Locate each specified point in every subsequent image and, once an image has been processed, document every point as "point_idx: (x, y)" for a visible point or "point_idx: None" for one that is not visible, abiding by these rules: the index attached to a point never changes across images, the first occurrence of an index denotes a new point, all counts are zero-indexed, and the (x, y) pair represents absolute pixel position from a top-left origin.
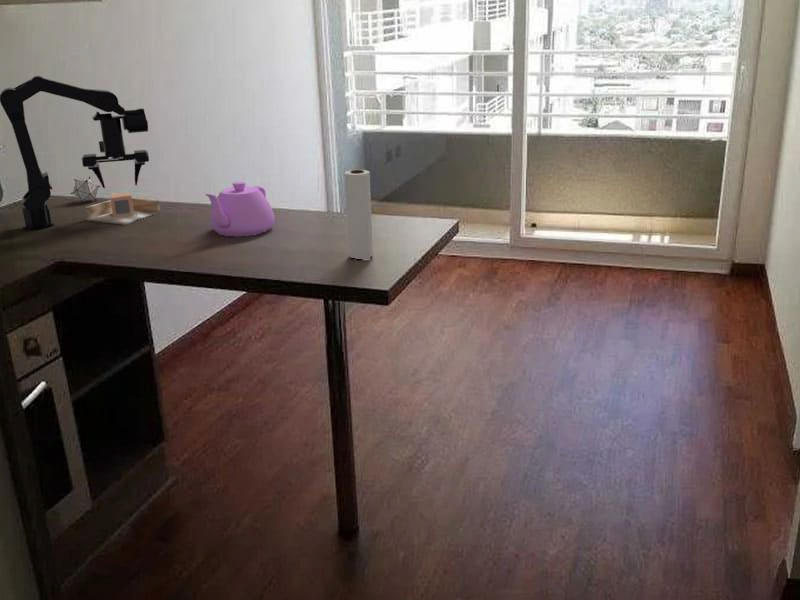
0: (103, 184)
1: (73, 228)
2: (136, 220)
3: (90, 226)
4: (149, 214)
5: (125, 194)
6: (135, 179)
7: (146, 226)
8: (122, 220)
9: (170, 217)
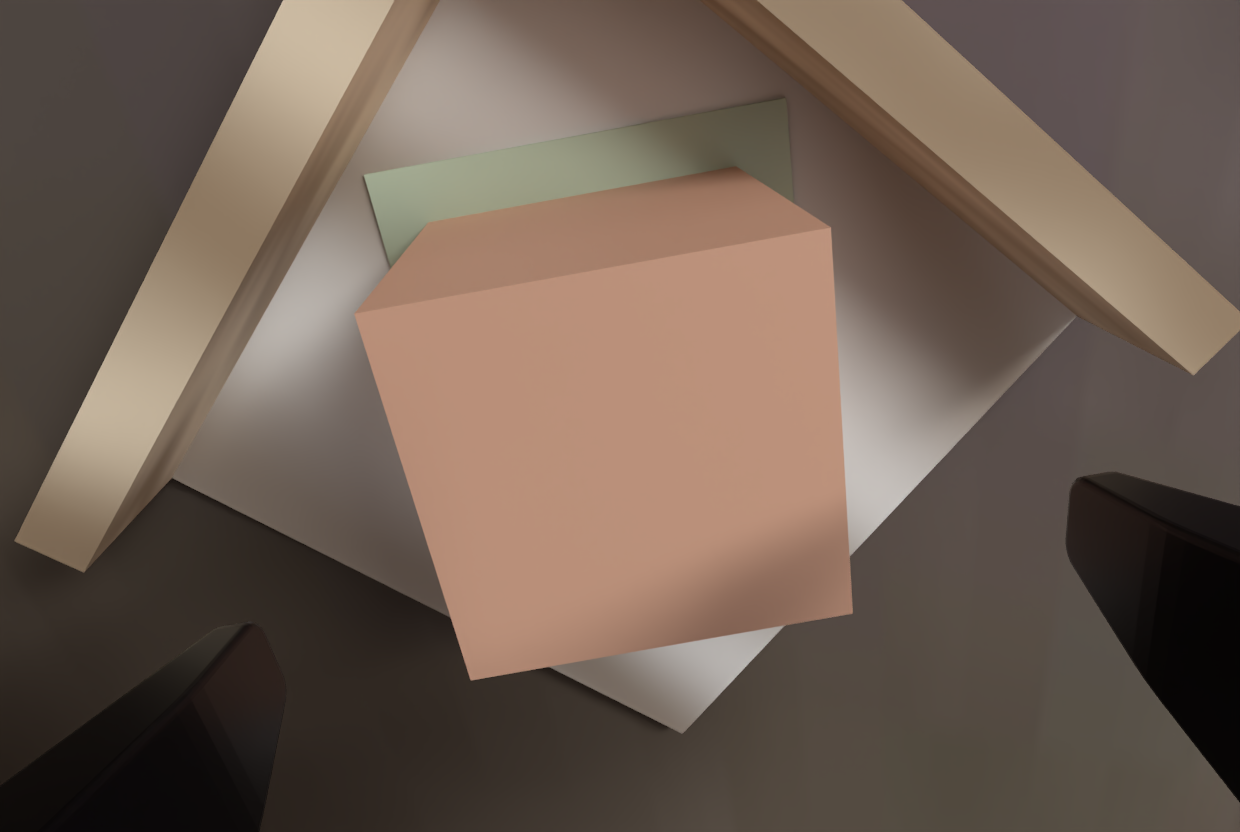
0: (247, 819)
1: None
2: None
3: (307, 708)
4: (963, 412)
5: (727, 444)
6: (1207, 738)
7: (902, 795)
8: None
9: None
